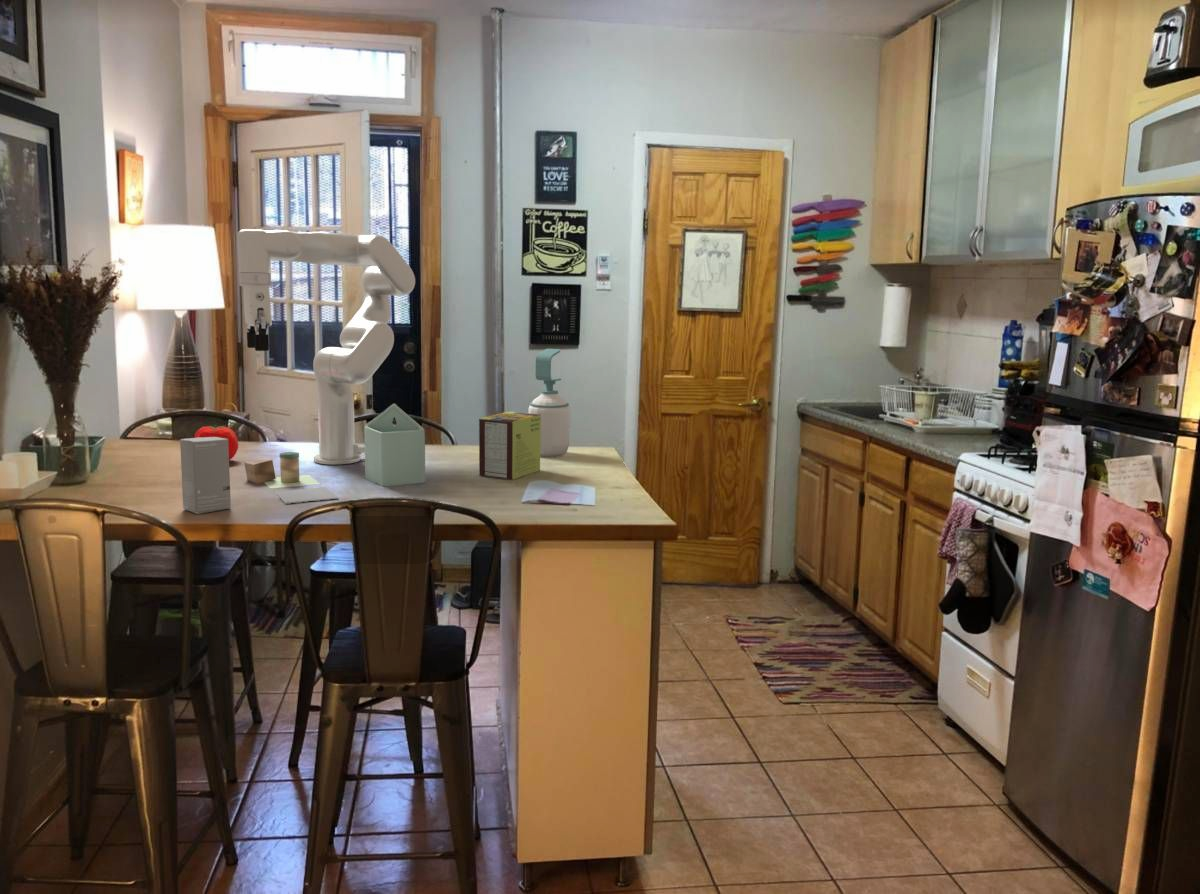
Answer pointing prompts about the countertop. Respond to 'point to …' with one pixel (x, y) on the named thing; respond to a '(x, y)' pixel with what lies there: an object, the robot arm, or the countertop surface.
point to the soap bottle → (551, 409)
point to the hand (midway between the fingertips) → (258, 349)
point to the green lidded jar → (289, 467)
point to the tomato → (220, 436)
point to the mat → (303, 481)
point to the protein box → (509, 445)
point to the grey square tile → (305, 495)
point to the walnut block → (260, 470)
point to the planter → (394, 449)
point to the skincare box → (205, 474)
